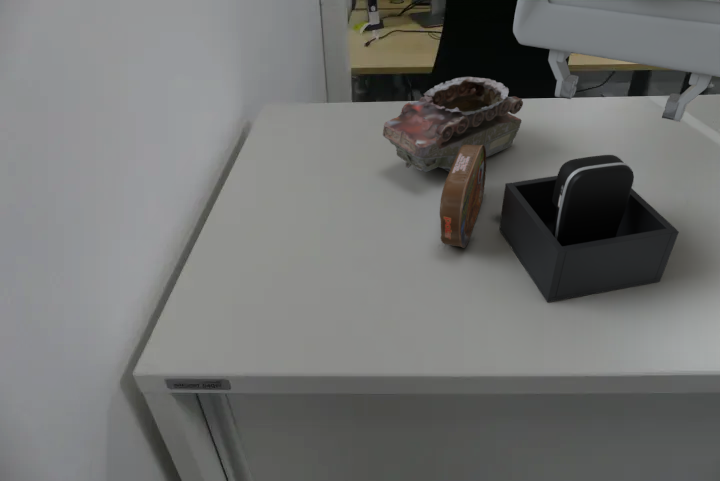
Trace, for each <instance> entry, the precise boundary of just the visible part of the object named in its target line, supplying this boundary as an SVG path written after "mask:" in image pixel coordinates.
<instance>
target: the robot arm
mask: <svg viewBox="0 0 720 481" xmlns="http://www.w3.org/2000/svg"><path fill="white" fill-rule="evenodd" d="M513 18H514V19H513V24H512V33H513V36H514V37H515V38H516V41H517V43H518V44H520V45H522V46H527V47H535V48H540V49H545V50H546V49H547V50H549V53H548V58H547V61H548V64H549V66H550V69H551V71H552V74H553V76H554V79H555V80H556V85H555V90H554V97H556V98H561V99H567V100H571V99H572V97H573V98H574V96H575V95H576V92H577V88H578V87H577V84H579V83H578V82H579V77H580V75H579V76H578V75H575V74H571V72H570V69H569V66H568V62H567V60H566V59H568V57H570V56H571V54H577V55H582V56H588V57H595V58H601V59H606V60H607V59H608V60H614V61H618V62H619V61H620V62H626V63H632V64H638V65H642V66H643V65H644V66H648V67H649V66H650V67H657V68H662V69H667V70H668V69H669V70H675V71H681V72H686V73H691V74H690V76H689V81H688V85H690V86H689V87H688V88H687V89H685V91H684V92H682V93H681V94H679V93H673V92H672V93H670V95H669V96H668V98H667V99H666V103H665V105H664V111H663V112H662V116H661V119H665V120H670V121H674V122H681V120H682V119H683V116H684V114H685V111H686V108H687V106H688V104H689V103H691V102H692V101H693V100H695V99H696V97H698V96H699V95H700V94H701V93H702V92H704V91H705V90H706V89H707V88H708V86H709V85H710V82H711V80H712V77H717V78H720V0H517V1H516V6H515V12H514V17H513Z"/></svg>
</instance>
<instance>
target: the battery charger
mask: <svg viewBox="0 0 720 481" xmlns="http://www.w3.org/2000/svg"><path fill="white" fill-rule="evenodd" d="M634 174H635V173H634V171H633V169H632V167H631V166H630V165H629V164H628V163H626V162H624V161H623V160H622V159H621V158H620V157H619V156H618V155H615V154H603V155H602V154H601V155H592V156H585V157H579V158H572V159H569V160H567V161H566V162H564V163H563V164H562V165H561V167H560V168H559V171H558V172H557V175H556V176H557V179H556V183H555V188H554V192H553V198H552V202H553V204H554V205H555V207H556V208H557V210H556V216H555V223H554V230H553V236H554V237H555V238H556V239H557V241H558V242H559V243H560V244H561V246H562V247H563V246H568V245H574V244H579V243H585V242H591V241H597V240H603V239H609V238H614V237H616V234H617V231H618V228H619V226H620V223H621V220H622V217H623V214H624V211H625V209H626V206H627V202H628V199H629V196H630V192H631V188H632V189H633V185H634V179H635V175H634Z"/></svg>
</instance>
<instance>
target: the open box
mask: <svg viewBox="0 0 720 481" xmlns="http://www.w3.org/2000/svg"><path fill="white" fill-rule="evenodd" d="M557 176H558V175H553V176H545V177H539V178H533V179H527V180H520V181H513V182H506V183H505V185H504V193H503V199H502V207H501V215H500V223H499V232H500V233H501V235H502V236H503V238H504V239H505V241H506V242H507V244H508V245H509V247H510V248H511V250H512V251H513V253H514V255H515V256H516V258H517V259H518V260H519V262H520V263H521V265H522V267H523V268H524V269H525V271H526V272H527V274H528V275H529V277H530V279H531V280H532V282H533V283H534V284H535V286H536V287H537V290H539V292H540V293H541V295H542V297H543V298H544V300H545V301H546V302H547V303H552V302H557V301H561V300H568V299H572V298H579V297H584V296H590V295H594V294H600V293H605V292H611V291H616V290H621V289H627V288H633V287H638V286H644V285H648V284H654V283H655V284H656V283H659V282H661V280H662V278H663V275H664V272H665V270H666V267H667V264H668V261H669V259H670V258H671V254H672V251H673V248H674V246H675V243H676V241H677V238H678V235H679V233H680V231H679V230H678V229H677V228H676V227H675V226H674V225H672V224H671V223H670V222H669V221H668V220H667V219H666V218H665V217H664V216H662V215H661V213H659V212H658V210H656V209H655V208H654V207H653V206H652V205H651V204H650V203H648V201H646V199H644V198H643V197H642V196H641V195H640V194H639V193H637V191H636V190H634V189H633V187H632V188H631V192H630V196H629V199H628V202H627V206H626V209H625V211H624V214H623V217H622V220H621V223H620V226H619V228H618V231H617V234H616V237H614V238H609V239H603V240H597V241H591V242H585V243H579V244H574V245H568V246H563V247H562V246H561V244H560V243H559V242H558V241H557V239H556V238H555V237H554V236H553V230H554V223H555V216H556V210H557V208H556V207H555V205H554V204H553V202H552V198H553V192H554V188H555V183H556V179H557Z"/></svg>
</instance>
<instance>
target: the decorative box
mask: <svg viewBox="0 0 720 481" xmlns="http://www.w3.org/2000/svg"><path fill="white" fill-rule="evenodd" d="M433 86H434V87H432V88H429V90H427V91H426V92H424V93H423V95H424V96H422V97H420V98H419V99H418V100H417V101H415V102H412V101H411V102H407V103H405V104H403V107H402V108H401V111H400V114H399V115H398V116H397V117H393V118H391V119H390V120H387V121H385V122H384V123H383V131H382V136H383V137H384V138H385V139H387V140H388V141H389V143H390V144H391V145H393V146H394V147H395V151H396V156H397V157H399V158H400V159H402V160H403V161H405V168H406V169H410V167H413V168H415V169H416V170H418V171H420V172H421V171H422V172H424V173H427V172H429V171H433V170H434V169H437V168H440V169H443V170H445V171H446V172H448V173H449V172H450V169H451V167H452V165H453V163H454V160H455V158H456V156H457V154H458V152H459V149H460V148H461V147H462V146H463V145H484V146H485V148H486V158H488V157H490V156H493V155H494V154H497V153H499V152H501V151H503V150H505V149H508V148H511V147H512V144H513V142H514V140H515V139H516V137H517V134H518V132H519V130H520V128H521V124H522V119H521V118H519V117H517V116H515V115H516V114H517V113H519V112H520V111H521V109H522V108H523V105H524V101H523V99H522V98H519V97H517V96H515V95H514V96H508V95H509V92H510V91H509V90H510V89H509V88H508V86H505V85H504V83H502V82H498V81H496V79H495V80H494V79H491V78H485V77H476V76H475V77H474V76H461V77H455V78H453V79H451V80H446V81H445V82H440V83H439V84H437V85H433Z"/></svg>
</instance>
